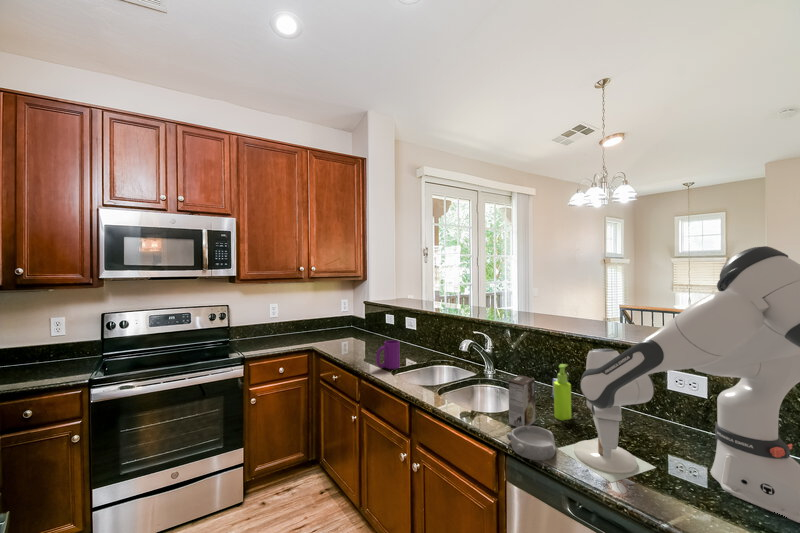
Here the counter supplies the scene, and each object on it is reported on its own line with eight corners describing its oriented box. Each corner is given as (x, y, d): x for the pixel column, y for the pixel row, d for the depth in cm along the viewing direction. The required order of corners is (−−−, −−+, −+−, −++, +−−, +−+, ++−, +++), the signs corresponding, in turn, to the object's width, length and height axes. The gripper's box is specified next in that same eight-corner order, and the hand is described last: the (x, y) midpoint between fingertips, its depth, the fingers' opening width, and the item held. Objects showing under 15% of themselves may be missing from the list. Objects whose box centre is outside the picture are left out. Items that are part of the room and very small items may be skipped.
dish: (549, 440, 110) (549, 425, 110) (564, 465, 96) (564, 448, 96) (504, 438, 112) (504, 423, 112) (512, 461, 98) (512, 444, 98)
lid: (650, 466, 94) (650, 448, 94) (611, 479, 88) (610, 460, 88) (598, 439, 109) (598, 424, 109) (562, 449, 103) (561, 433, 103)
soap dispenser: (574, 416, 128) (573, 364, 128) (568, 422, 123) (568, 368, 123) (558, 412, 132) (557, 361, 132) (552, 417, 127) (551, 365, 127)
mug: (403, 367, 194) (402, 341, 194) (381, 372, 184) (381, 345, 184) (393, 364, 201) (393, 339, 201) (372, 369, 191) (372, 343, 191)
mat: (656, 469, 94) (656, 467, 94) (611, 484, 87) (611, 482, 87) (598, 439, 110) (598, 437, 110) (557, 450, 104) (556, 448, 104)
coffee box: (519, 416, 128) (519, 374, 128) (536, 421, 124) (535, 378, 124) (508, 424, 122) (507, 380, 122) (525, 430, 117) (524, 384, 117)
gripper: (587, 389, 110) (588, 431, 110) (595, 414, 91) (596, 464, 91) (609, 392, 107) (610, 435, 107) (622, 418, 88) (623, 470, 88)
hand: (604, 449), depth 99 cm, fingers open, 8 cm apart
